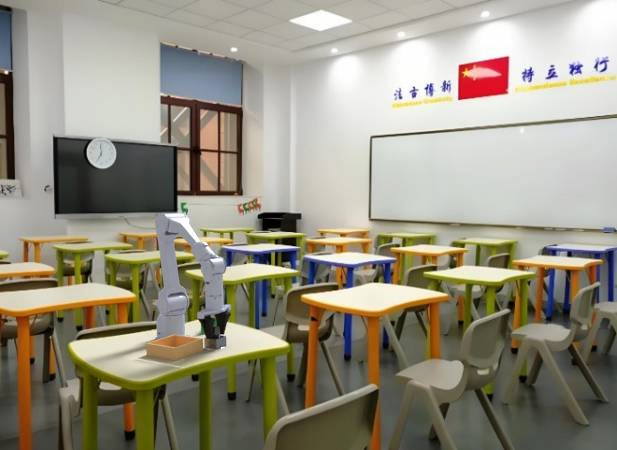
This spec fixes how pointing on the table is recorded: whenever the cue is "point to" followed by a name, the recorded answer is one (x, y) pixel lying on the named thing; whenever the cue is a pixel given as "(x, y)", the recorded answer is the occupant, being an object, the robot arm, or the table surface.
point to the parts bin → (174, 347)
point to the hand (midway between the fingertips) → (215, 336)
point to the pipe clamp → (203, 329)
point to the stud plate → (214, 349)
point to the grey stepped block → (215, 339)
